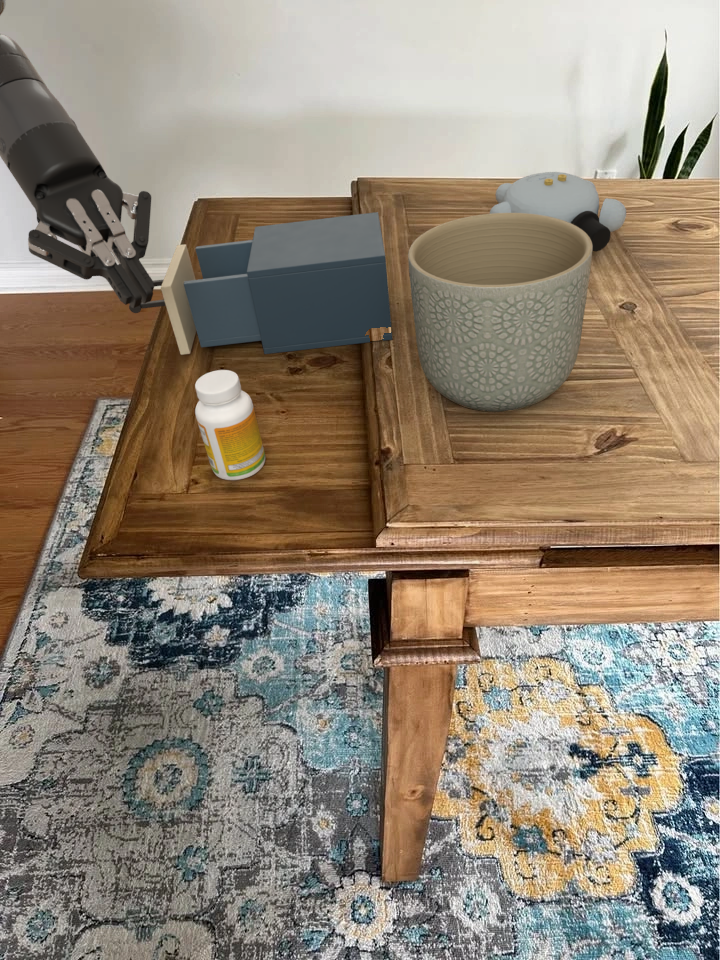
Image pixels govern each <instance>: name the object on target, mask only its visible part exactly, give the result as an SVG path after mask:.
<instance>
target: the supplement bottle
mask: <svg viewBox="0 0 720 960" xmlns="http://www.w3.org/2000/svg"><path fill="white" fill-rule="evenodd" d="M194 388H195V392H196V397H197V399H198V401H197V404H196V406H195V409H194V414H195V419H196V423H197V425H198V429H199V431H200V435H201V439H202V442H203V446H204V448H205V452H206V456H207V458H208V461H209V464H210V468H211V470H212V473H214V474H215V476H216V477H218V478H219V479H221V480H226V481H240V480H243V479H247V478H249V477H252V476H254V475H256V474H257V473H258V472H259V471H260V470H261V469H262V468H263V467H264V465H265V462H266V453H265V448H264V445H263V440H262V436H261V431H260V428H259V424H258V419H257V416H256V411H255V406H254V403H253V400H252V398H251V396H250V395H249V394H248V393H247V392H246V391H244V390H243V389H242V385H241V381H240V377H239V376H238V374H237V373H236V372H235V371H233V370H229V369H218V370H217V369H216V370H213V371H210V372H206V373H205V374H202V375H201V376H200V377H198V378H197V380H196V382H195V384H194Z"/></svg>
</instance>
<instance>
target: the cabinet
mask: <svg viewBox="0 0 720 960" xmlns="http://www.w3.org/2000/svg"><path fill="white" fill-rule="evenodd" d="M252 240H253V241H252V247H251V252H250V257H249V263H248V268H247V276H248V280H249V285H250V290H251V294H252V299H253V303H254V308H255V313H256V317H257V322H258V327H259V331H260V336H261V340H262V341H261V345H262V349H263V354H264V355H271V354H280V353H286V352H297V351H307V350H313V349H323V348H331V347H332V348H333V347H340V346H348V345H358V344H366V343H371V342H370V338H369V335H366V336H365V334H366V332H367V331H368V330H369V329H371V328H380V327H386V328H388V327H393V326H392V315H391V303H390V293H389V283H388V282H389V281H388V270H387V260H386V259H387V258H386V252H385V245H384V238H383V232H382V228H381V221H380V215H379V211H377V212H374V211H373V212H367V213H359V214H351V215H343V216H342V215H341V216H334V217H325V218H318V219H310V220H301V221H292V222H283V223H276V224H269V225H268V224H267V225H259V226H255V227H254V230H253V236H252ZM383 338H384V339H382V340H383V341H382V342H385V341H392V340H393V331H392V332H391V333H384V335H383Z"/></svg>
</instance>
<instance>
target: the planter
mask: <svg viewBox="0 0 720 960" xmlns="http://www.w3.org/2000/svg"><path fill="white" fill-rule="evenodd" d="M592 249H593V245H592V241H591V239H590V237H589V236H588V235H587V234H586V233H585V232H584V231H583V230H582V229H580V228H579V227H577V226H575V225H573V224H571V223H569V222H566V221H564V220H560V219H557V218H553V217H549V216H544V215H537V214H528V213H492V214H490V213H484V214H483V213H482V214H477V215H476V214H475V215H471V216H465V217H460V218H457V219H452V220H450V221H446V222H443V223H441V224H439V225H437V226H434V227H432V228H430V229H428V230H427V231H425V232H423V233H422V234H421V235H419V236H418V237H417V238H415V240H414V241H412V243H411V245H410V246H409V250H408V253H407V254H408V255H407V257H408V259H407V261H408V274H409V275H408V276H409V284H410V285H409V286H410V295H411V304H412V311H413V312H412V313H413V321H414V332H415V343H416V349H417V354H418V355H417V356H418V361H419V365H420V368H421V370H422V372H423V375H424V376H425V378H426V379H427V381H428V382H429V384H430V385H431V386H432V387H433V389H435V390H436V391H437V392H438V393H439V394H441V395H442V396H443V397H445V398H446V399H448V400H449V401H451V402H453V403H455V404H457V405H459V406H461V407H464V408H467V409H472V410H475V411H480V412H481V411H482V412H490V413H491V412H492V413H493V412H494V413H501V412H511V411H517V410H521V409H523V408H524V409H525V408H527V407H530V406H533V405H535V404H537V403H539V402H541V401H543V400H545V399H546V398H548V397H550V396H551V395H552V394H554V393H555V392H556V391H557V390H559V389H560V388H561V387H562V386H563V385H564V384H565V382H566V381H567V380H568V378H569V377H570V375H571V373H572V372H573V370H574V367H575V366H576V362H577V359H578V354H579V350H580V345H581V340H582V333H583V325H584V318H585V311H586V305H587V298H588V292H589V291H588V290H589V284H590V275H591V268H592V261H593V259H592V258H593V251H592Z"/></svg>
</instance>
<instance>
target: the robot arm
mask: <svg viewBox="0 0 720 960" xmlns="http://www.w3.org/2000/svg"><path fill="white" fill-rule="evenodd" d="M6 4H7V0H0V16H1V15H2V14H3V13H4V11H5V9H6ZM0 158H1V160H2V161H3V162H4V164H5V166H6V168H7V169H8V171H9V172H10V174H11V175H12V177H13V178H14V179H15V182H17V184H18V186H19V188H20V189H21V191H22V192H23V193H24V195H25V196H26V198H27V199H28V201H29V202H30V204H31V206H32V207H33V208H34V209H35V212H36V221H37V224H36V225H37V226H36V227H35V229H31V230H30V231H29V232H28V238H27V240H28V241H27V245H28V252H29V253H30V254H32V255H33V256H36V257H37V258H40V259H41V260H44V261H46V262H48V263H49V264H51V265H54V266H56V267H57V268H60V269H62V270H64V271H66V272H68V273H70V274H73V275H74V276H77V277H78V278H80V279H83V280H87V281H88V280H91V279H92V278H93V277H102V278H104V279H105V280H106V282H107V283H108V284H109V286H110V287H111V288H112V291H114V293H115V295H116V296H117V298H118V299H119V301H120V302H121V303H122V304H124V306H125V305H130V306H131V307H132V308H135V307H138V306H140V304H141V301H142V302H143V303H147V302H149V301H152V299H153V295H154V289H155V287H154V283H153V281H154V280H153V279H152V278H151V275H150V274H149V273H148V271H147V270H146V268H145V267H144V265H143V263H142V262H141V261H140V259H144V257H145V256H146V252H147V248H148V245H149V239H150V226H151V225H150V223H151V210H152V194H151V193H150V192H149V191H146V190H141V191H139V193H138V195H137V194H132V193H129V192H125V191H123V189H122V187H121V186H120V185H119V184H118V183H116V182H114V181H113V180H112V179H110V178H109V176H108V175H107V174H106V171H105V169H104V167H103V165H102V164H101V162H100V160H99V159H98V158H97V156H96V155H95V153H94V152H93V150H92V149H91V147H90V145H89V144H88V142H87V141H86V139H85V138H84V136H83V135H82V133H81V131H79V129H78V126H77V124H76V122H75V120H73V119H72V118H71V116H70V115H69V113H68V112H67V110H66V109H65V108H64V106H63V105H62V103H61V102H60V101H59V100H58V98H56V97H55V95H54V93H52V92H51V90H50V89H49V88H48V86H47V84H46V83H45V81H44V80H43V79H42V77H41V75H40V73H39V72H38V71H37V69H36V68H35V66H34V65H33V63H32V62H31V60H30V58H29V57H28V55H27V53H25V51H24V49H23V48H22V47H21V46H20V45H19V44H18V43H17V42H16V40H14V39H13V38H11V37H10V36H9V35H6V34H4V33H0ZM123 207H124V208H125V209H126V212H127V213H126V214H127V215H128V217H129V218H130V219H131V220H134V222H133V223H134V225H133V239H132V241H130V240H129V237H128V236H127V234H126V230H125V227H124V226H123V223H121V222H122V214H123ZM58 237H59V238H61V239H63V240H64V241H67V242H68V243H71V244H72V245H76V246H77V247H78V248H79V249H78V248H75V247H74V246H72V245H70V244H67V243H65V242H63V241H61V240H59V239H58Z"/></svg>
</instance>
